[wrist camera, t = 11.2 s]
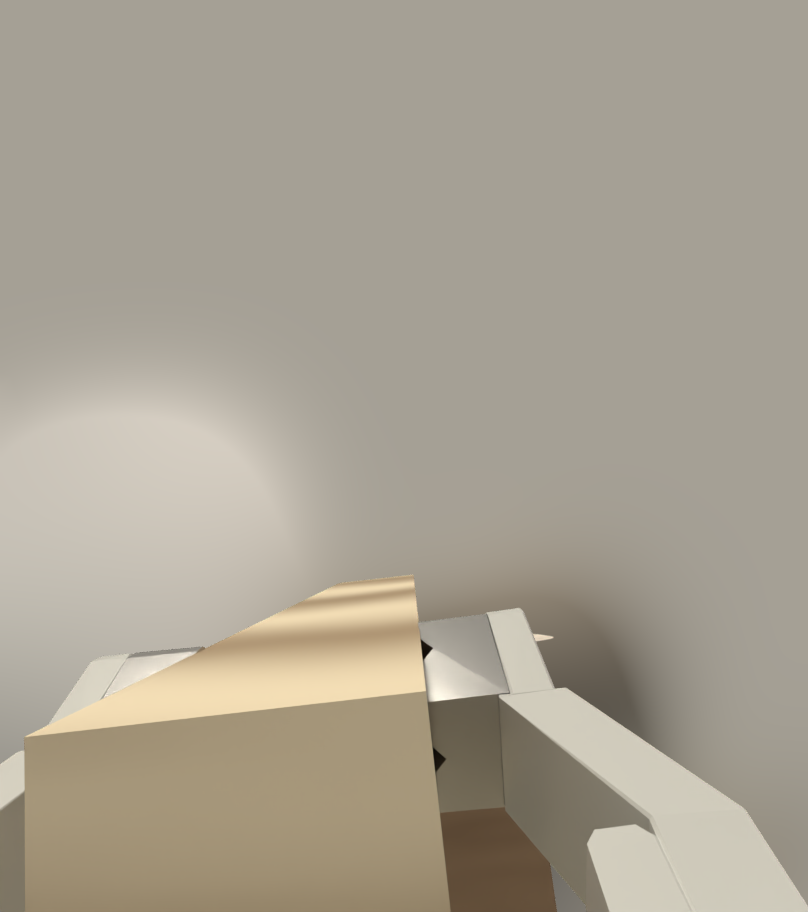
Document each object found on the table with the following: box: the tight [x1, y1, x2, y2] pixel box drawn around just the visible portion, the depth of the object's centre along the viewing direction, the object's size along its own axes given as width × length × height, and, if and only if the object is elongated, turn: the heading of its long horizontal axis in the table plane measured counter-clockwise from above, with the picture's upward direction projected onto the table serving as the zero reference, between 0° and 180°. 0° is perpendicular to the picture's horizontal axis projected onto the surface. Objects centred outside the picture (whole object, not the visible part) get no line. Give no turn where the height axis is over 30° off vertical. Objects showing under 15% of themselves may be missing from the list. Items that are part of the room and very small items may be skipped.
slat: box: [24, 575, 451, 912], centre depth 13 cm, size 19×3×2 cm, turn 179°
